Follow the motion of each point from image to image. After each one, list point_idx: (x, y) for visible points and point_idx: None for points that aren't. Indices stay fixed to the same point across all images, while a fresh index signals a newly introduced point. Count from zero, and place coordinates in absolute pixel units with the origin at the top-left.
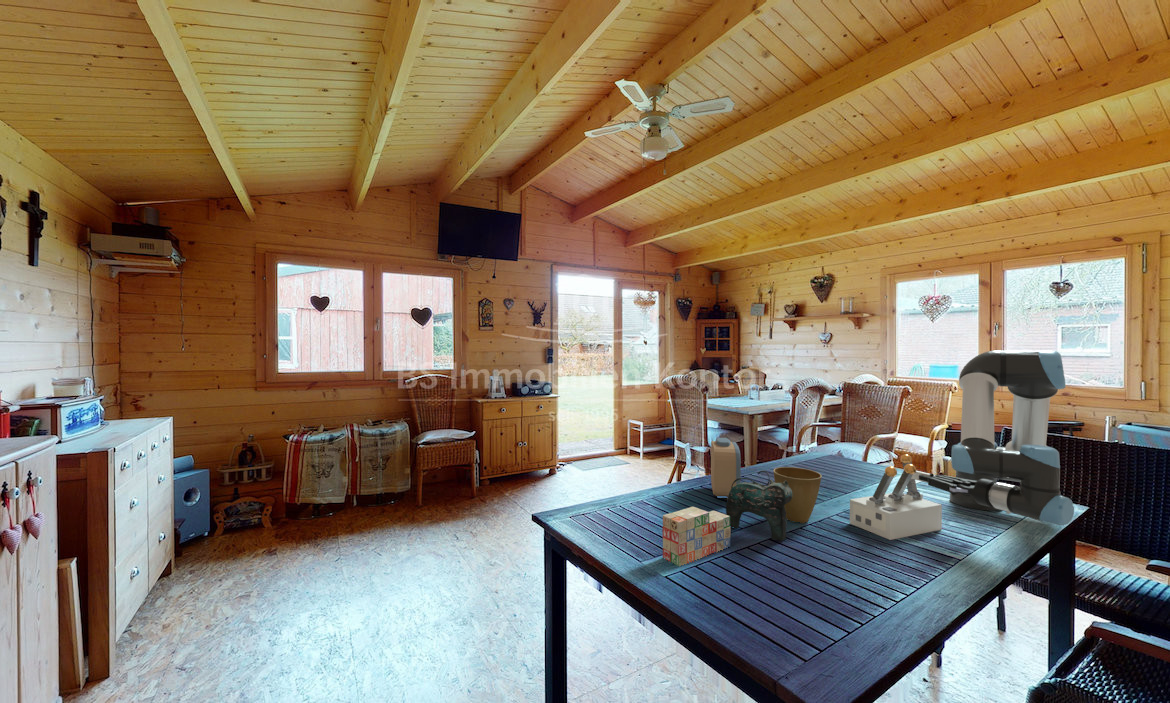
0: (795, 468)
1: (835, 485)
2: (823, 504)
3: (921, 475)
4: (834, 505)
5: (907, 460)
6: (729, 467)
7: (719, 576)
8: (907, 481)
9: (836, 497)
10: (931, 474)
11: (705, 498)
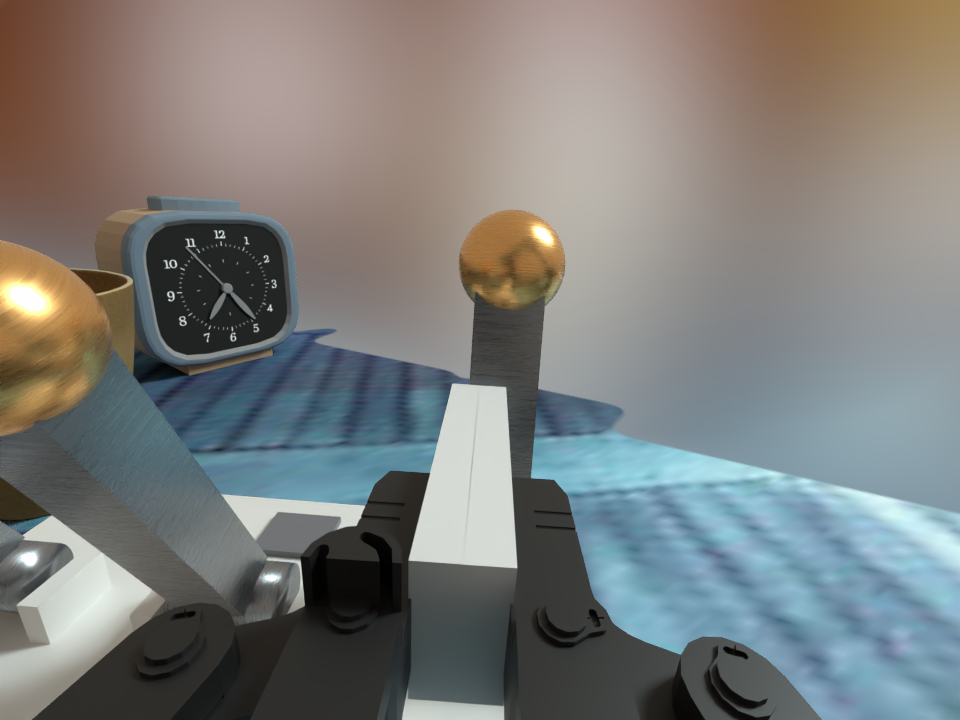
0: (125, 281)
1: (585, 401)
2: (354, 455)
3: (399, 490)
4: (378, 471)
5: (474, 272)
6: (115, 270)
7: None
8: (101, 518)
9: None
10: (331, 566)
11: (142, 357)
